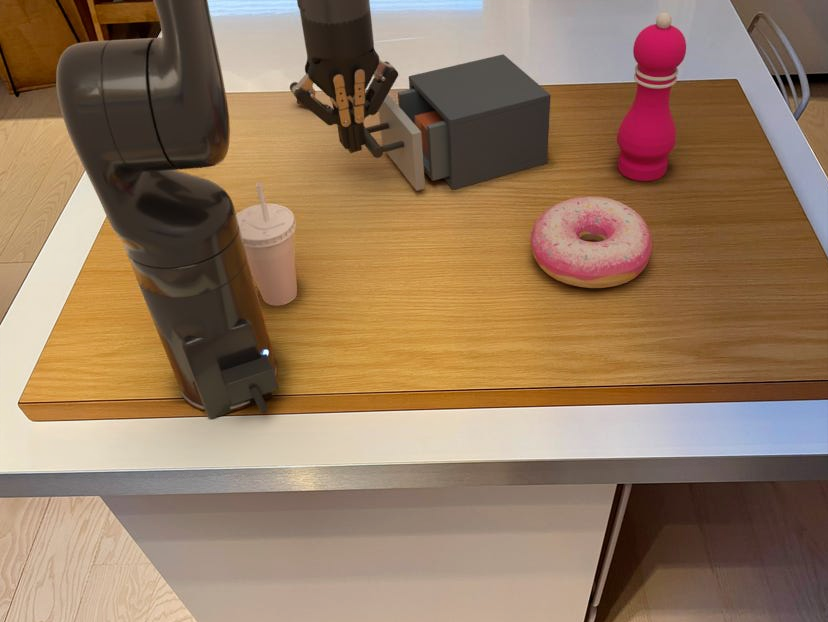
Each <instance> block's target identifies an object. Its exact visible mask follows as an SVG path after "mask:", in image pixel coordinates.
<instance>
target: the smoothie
mask: <svg viewBox="0 0 828 622" xmlns="http://www.w3.org/2000/svg"><path fill="white" fill-rule="evenodd" d="M255 187H256V192H257V196H258V200H259V203H257V204H254V205H251V206H248V207H246V208H244V209H241V210H240V211H239V212H238V213H236V216H237V220H238V224H239V228H240V232H241V236H242V239H243V243H244V247H245V251H246V255H247V259H248V262H249V266H250V270H251V274H252V277H253V280H254V281H255V282H254V283H256V286H257V288H258V290H259V293H260V296H261V297H262V300H263V301H264V303H266V304H267V305H270V306H275V307H276V306H277V307H279V306H284V305H288V304H289V303H291V302H293V301H294V300H296V297H297V295H298V285H297V283H298V282H297V268H296V251H295V236H294V235H295V234H294V233H295V231H296V228H297V222H296V220H295V216H294V213H293V212H292V210H291V209H290V208H288V207H286V206H284V205H281V204H277V203H269V202H268V203H267V201H266V196H265V193H264V188H263V183H262V182H256V183H255Z"/></svg>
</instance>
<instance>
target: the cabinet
mask: <svg viewBox="0 0 828 622" xmlns="http://www.w3.org/2000/svg"><path fill="white" fill-rule="evenodd" d="M408 88H409V89H408V90H410V89H414V88H415V89H416V90H417V91H418V92H419V93H420V94H421V95H422V96H423V97H424V98H425V99H426V101H427V102H428V103H429V104H430V105H431V106H432V107H433V108H434V109H435V110H436V111H437V112H438V113H439V115H440V116H441V117H442V118H443V119H444V120H445V121H446V122H447V123H448V143H449V167H450V176H448V177H445V178H442V179H443V180H444V182H445V183H446V184H447V185H448V186H449V187H450V188H451V190H452V191H453V190H457V189H461V188H464V187H465V188H466V187H468V186H471V185H476V184H479V183H482V182H486V181H489V180H492V179H493V180H494V179H497V178H500V177H503V176H507V175H511V174H514V173H518V172H521V171H525V170H528V169H531V168H535V167H539V166H542V165H546V164H548V152H549V151H548V149H549V136H550V135H549V132H550V115H551V95H552V94H551V93H549V92H548V91H547V90H546V89H545V88H544V87H542V86H541V84H539V83H538V82H537V81H536V80H534V79H533V78H532V77H530V75H528V74H527V73H526V72H525V71H523V70H522V68H520V67H519V66H518V65H517V64H515V63H514V62H513V61H512V60H511V59H510V58H509V57H508V56H506V55H505V54H503V53H502V54H497V55H495V56H489V57H486V58H482V59H481V58H480V59H477V60H473V61H468V62H464V63H461V64H460V63H459V64H455V65H451V66H447V67H443V68H442V67H441V68H437V69H434V70H429V71H426V72H421V73H417V74H412V75H409V76H408Z"/></svg>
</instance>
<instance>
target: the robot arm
mask: <svg viewBox="0 0 828 622" xmlns="http://www.w3.org/2000/svg"><path fill="white" fill-rule="evenodd" d="M152 2H153V4H154V7H155V10H156V11H155V12H156V13H157V14H156V15H157V17H158V19H159V20H158V21H159V25H160V29H161V34H162V35H161V37H147V38H130V39H129V38H128V39H112V40H92V41H84V42H78V43H74V44H71V45H70V46H68V47H66V48H65V50H63V52H62V53H61V55H60V57H59V60H58V62H57V66H56V75H55V84H56V85H55V86H56V94H57V99H58V104H59V109H60V113H61V116H62V119H63V121H64V124H65V127H66V131H67V133H68V136H69V139H70V140H71V142H72V145H73V148H74V149H75V152H76V154H77V156H78V158H79V160H80V162H81V164H82V166H83V169H84V170H85V173H86V175H87V177H88V179H89V181H90V182H91V185H92V187H93V190H94V192H95V193H96V196H97V198H98V200H99V203H100V205H101V207H102V209H103V211H104V214H105V216H106V218H107V220H108V223H109V225H110V226H111V228H112V230H113V232H114V233H115V234H116V236H117V237H118V238H119V239H120V241H121V243H122V245H123V248H124V250H125V254H126V256H127V258H128V261H129V263H130V265H131V268H132V271H133V273H134V276H135V279H136V281H137V283H138V287H139V288H140V291H141V294H142V296H143V298H144V302H145V304H146V307H147V309H148V312H149V315H150V317H151V320H152V322H153V324H154V326H155V329H156V332H157V335H158V337H159V339H160V342H161V344H162V347H163V349H164V352H165V354H166V357H167V360H168V362H169V364H170V367H171V369H172V370H173V374H174V377H175V379H176V382H177V386H178V389H179V393H180V395H181V397H182V399H183V400H184V401H185V402H186V403H187V404H188V405H189V406H190V407H193V408H194V409H196V410H199V411H202V412H205V415H206V416H207V419H209V420H211V419H215V418H218V417H220V416H223V415H226V414H229V413H232V412H235V411H238V410H242V409H244V408H247V407H249V406H250V407H251V406H252V405H255V404H256V406H257V407H258V409H259V410H260V412H263V413H264V412H267V410H268V405H267V403H266V400H270V399H272V398H273V397H274V396H273V392H275V391H277V390H279V384H278V381H277V378H278V373H279V366H278V362H277V358H276V356H275V354H274V351H273V348H272V343H271V340H270V336H269V333H268V329H267V325H266V322H265V318H264V314H263V310H262V306H261V303H260V299H259V296H258V293H257V288H256V285H255V282H254V281H255V280H254V277H253V275H252V272H251V270H250V266H249V262H248V259H247V255H246V251H245V247H244V243H243V239H242V236H241V232H240V228H239V224H238V220H237V216H236V214H237V213H236V208H235V205H234V202H233V200H232V198H231V196H230V195H229V193H228V192H227V191H226V190H225V189H224V188H223V187H222V186H220V185H219V184H218V183H216V182H214V181H212V180H209V179H208V178H204V177H201V176H198V175H195V174H191V173H186V172H184V171H180V170H193V169H203V168H211V167H215V166H218V165H220V164H221V163H223V161H224V160H225V158H226V157H227V155H228V152H229V148H230V147H229V146H230V140H231V139H230V138H231V137H230V136H231V126H230V123H231V122H230V113H229V105H228V99H227V91H226V87H225V82H224V77H223V76H224V75H223V70H222V65H221V59H220V56H219V52H218V51H219V50H218V46H217V40H216V36H215V31H214V27H213V21H212V17H211V11H210V7H209V1H208V0H152ZM296 2H297V7H298V9H299V15H300V21H301V27H302V34H303V39H304V46H305V51H306V63H305V65H304V72H305V74H304V75H303V76H302V77H301V79H300V80H299V81H298V82H297V81H293V82H292V83H290V85H289V90H290V92H291V93H292V94H293V96H294V97H295V99H296V101H297V100H298V101H299V102H301V103H302V104H303V105H304V106H305V108H307V110H309V111H310V112H312V113H313V114H314V115H315V116H316V117H318V118H319V119H320V120H321V121H322V122H324V123H325V124H326V125H327V126H331V127H332V126H334V125H336V126H337V133H338V139H339V142H340V144H341V146H342V147H343V148H344V150H347V151H348V152H349V154H352V153H353V154H354V153H356V152H359V151H362V150H363V149H362V148H363V146H365V145H364V144H365V134H364V126H365V125H364V121H365V119H366V117H369V116H375V115H376V114H377V113H379V108H380V107H381V105H382V103H383V101H384V100H385V98H386V96H387V94H389V93H390V91H391V89H392V88H393V86H394V84H395V82H396V80H397V79H398V77H399V72H398V70H396V68H395V66H393V64H391V63H390V62H389V61H383V60H381V59H380V56H379V54H378V52H377V51H376V49H375V42H374V40H375V39H374V32H373V23H372V13H371V11H372V10H371V4H370V3H371V2H370V0H296ZM372 78H373V79H372ZM313 85H316V86H317V88H319V90H321V91H322V92H323V93H324V94H325V95H326V96H327V97H329V99H330V101H331V106H332V108H333V109H328V108H327V107H326V106H325V105H324V104H325V103H323V102H321V101H320V100H319V99H318V98H317V97H316V90H315V89H314V87H313ZM304 106H303V107H304Z"/></svg>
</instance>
